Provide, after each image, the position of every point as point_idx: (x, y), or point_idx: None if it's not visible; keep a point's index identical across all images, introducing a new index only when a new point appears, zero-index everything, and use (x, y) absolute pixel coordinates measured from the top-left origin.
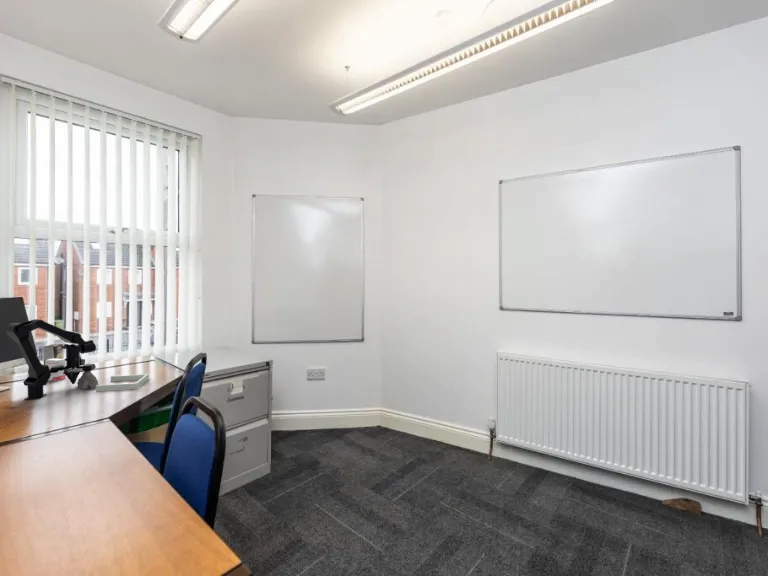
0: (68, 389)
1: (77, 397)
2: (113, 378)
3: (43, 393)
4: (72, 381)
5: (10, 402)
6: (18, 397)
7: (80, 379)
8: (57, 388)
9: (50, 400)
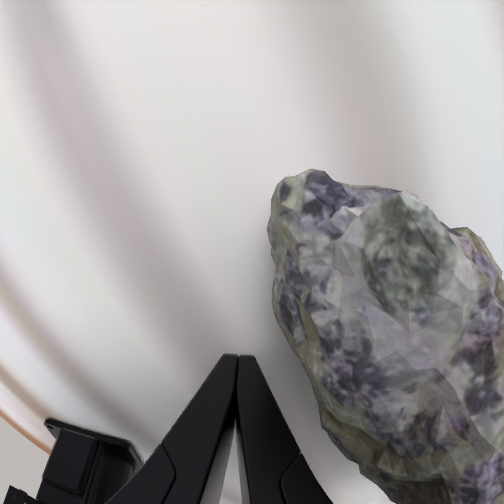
0: (210, 367)
1: (357, 484)
2: None
3: (121, 467)
4: (233, 431)
5: (50, 451)
6: (3, 402)
7: (374, 482)
8: (44, 284)
9: (228, 495)
